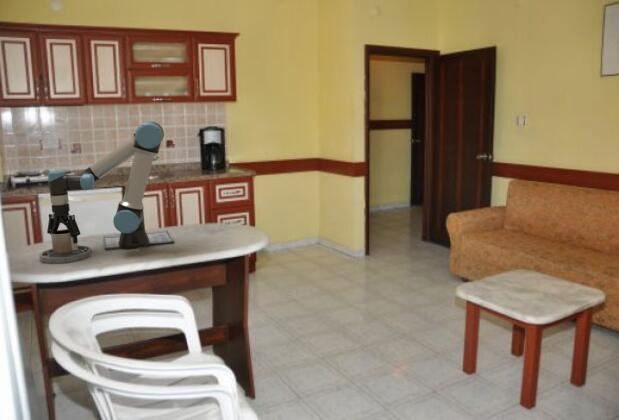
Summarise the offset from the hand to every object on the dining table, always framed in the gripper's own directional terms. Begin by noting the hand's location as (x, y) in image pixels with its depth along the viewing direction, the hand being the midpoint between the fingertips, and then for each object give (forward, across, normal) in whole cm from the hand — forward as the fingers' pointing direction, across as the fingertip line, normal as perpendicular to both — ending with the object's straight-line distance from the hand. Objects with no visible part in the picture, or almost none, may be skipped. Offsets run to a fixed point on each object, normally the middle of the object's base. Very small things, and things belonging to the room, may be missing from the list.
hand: (65, 248), depth 248 cm
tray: (+4, 0, 0) cm, 4 cm away
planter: (+1, 0, 0) cm, 1 cm away
